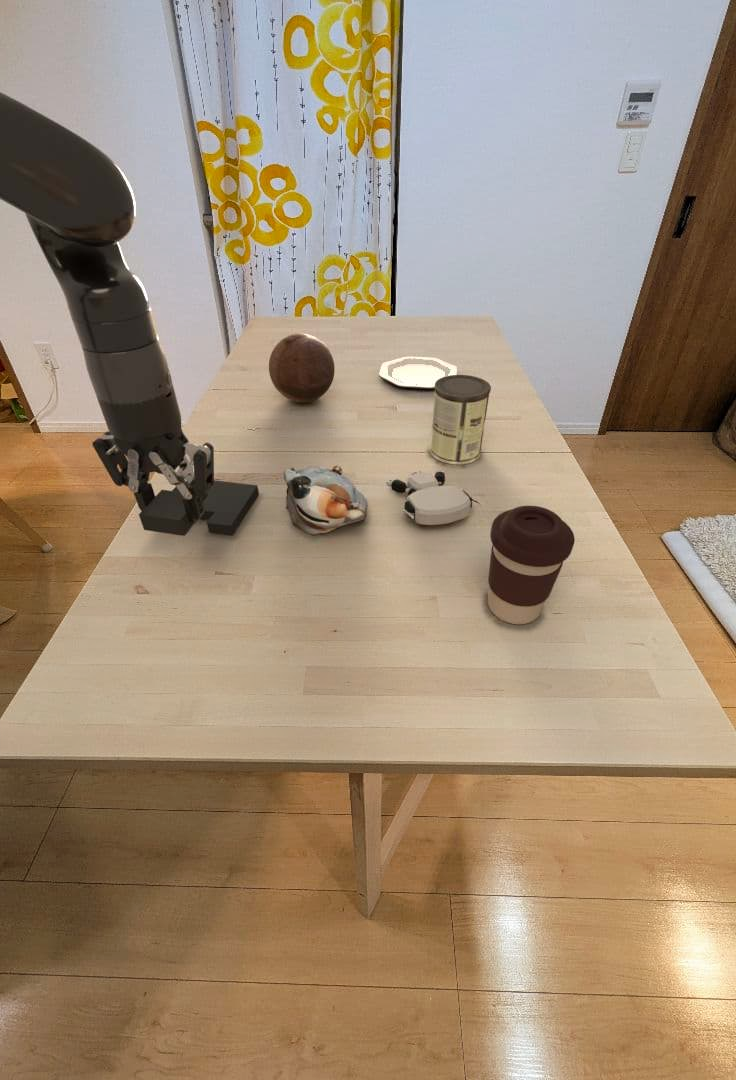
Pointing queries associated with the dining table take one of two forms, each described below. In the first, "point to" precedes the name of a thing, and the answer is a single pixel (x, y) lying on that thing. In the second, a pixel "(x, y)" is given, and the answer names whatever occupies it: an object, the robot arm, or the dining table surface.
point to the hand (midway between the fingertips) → (173, 515)
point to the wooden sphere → (301, 367)
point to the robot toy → (432, 498)
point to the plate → (415, 373)
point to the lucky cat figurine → (322, 499)
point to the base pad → (228, 506)
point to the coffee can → (459, 418)
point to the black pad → (167, 513)
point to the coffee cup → (525, 561)
